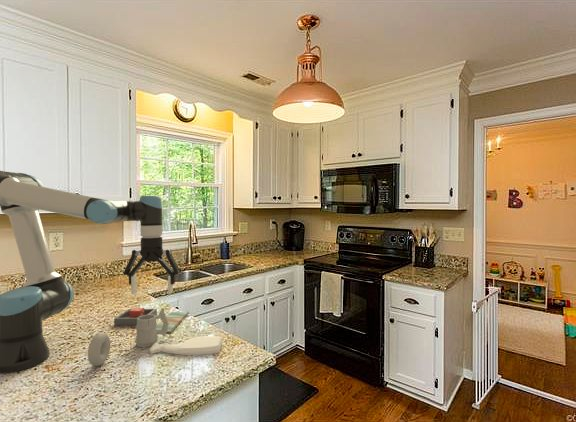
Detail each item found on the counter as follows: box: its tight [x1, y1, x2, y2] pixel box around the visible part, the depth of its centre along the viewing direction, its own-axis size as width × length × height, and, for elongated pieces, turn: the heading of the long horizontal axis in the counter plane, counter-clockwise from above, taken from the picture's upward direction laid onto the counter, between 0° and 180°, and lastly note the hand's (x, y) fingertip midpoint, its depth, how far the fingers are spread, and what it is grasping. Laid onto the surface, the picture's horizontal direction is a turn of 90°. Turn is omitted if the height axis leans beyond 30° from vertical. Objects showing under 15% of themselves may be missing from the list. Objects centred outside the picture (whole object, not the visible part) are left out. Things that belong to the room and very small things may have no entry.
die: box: [129, 307, 145, 318], centre depth 143 cm, size 5×5×5 cm
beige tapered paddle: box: [149, 335, 223, 356], centre depth 115 cm, size 3×11×24 cm
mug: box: [134, 307, 169, 348], centre depth 120 cm, size 8×12×12 cm, turn 129°
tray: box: [113, 308, 158, 327], centre depth 143 cm, size 13×13×3 cm
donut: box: [87, 332, 111, 367], centre depth 103 cm, size 10×4×10 cm, turn 4°
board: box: [156, 311, 190, 334], centre depth 141 cm, size 24×8×1 cm, turn 1°
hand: (152, 293), depth 120 cm, fingers open, 13 cm apart
